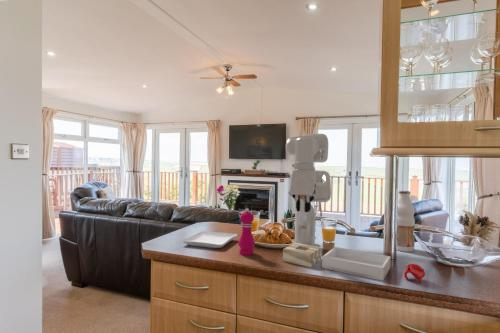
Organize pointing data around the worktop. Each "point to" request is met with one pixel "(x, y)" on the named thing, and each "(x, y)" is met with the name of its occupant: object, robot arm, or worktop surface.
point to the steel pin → (302, 212)
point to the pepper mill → (246, 234)
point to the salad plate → (209, 239)
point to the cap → (414, 272)
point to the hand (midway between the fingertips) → (303, 210)
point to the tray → (357, 263)
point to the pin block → (302, 254)
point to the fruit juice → (405, 222)
